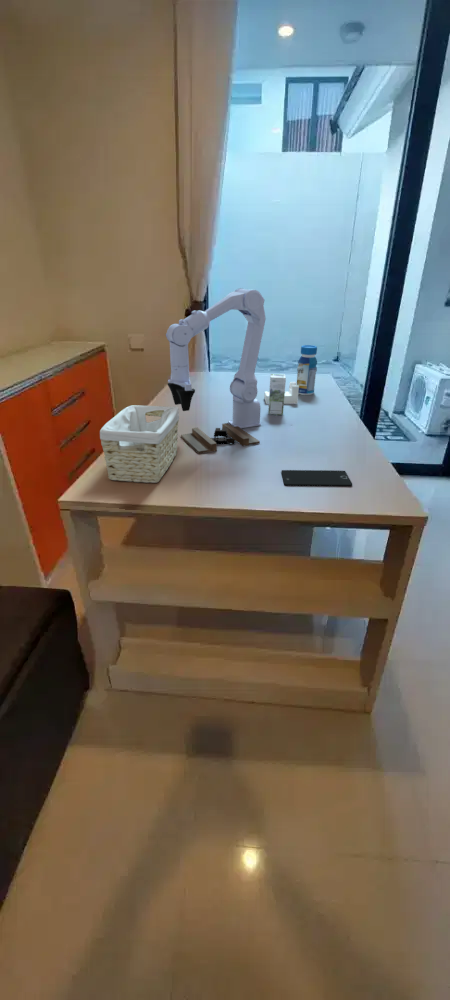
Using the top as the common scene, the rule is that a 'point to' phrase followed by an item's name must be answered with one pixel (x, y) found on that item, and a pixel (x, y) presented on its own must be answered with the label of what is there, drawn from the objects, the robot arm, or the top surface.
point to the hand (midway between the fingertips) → (181, 407)
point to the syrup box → (276, 394)
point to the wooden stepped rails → (206, 444)
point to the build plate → (224, 434)
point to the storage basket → (140, 443)
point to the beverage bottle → (307, 370)
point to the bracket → (287, 394)
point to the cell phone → (316, 478)
